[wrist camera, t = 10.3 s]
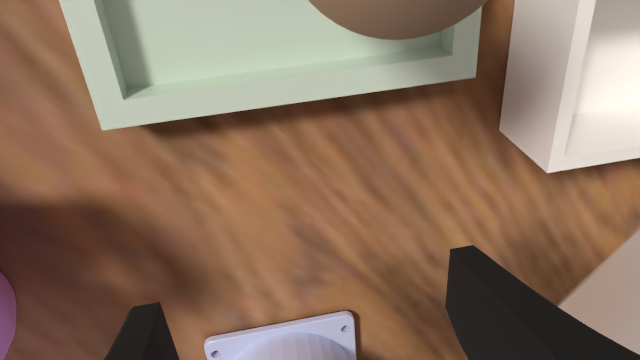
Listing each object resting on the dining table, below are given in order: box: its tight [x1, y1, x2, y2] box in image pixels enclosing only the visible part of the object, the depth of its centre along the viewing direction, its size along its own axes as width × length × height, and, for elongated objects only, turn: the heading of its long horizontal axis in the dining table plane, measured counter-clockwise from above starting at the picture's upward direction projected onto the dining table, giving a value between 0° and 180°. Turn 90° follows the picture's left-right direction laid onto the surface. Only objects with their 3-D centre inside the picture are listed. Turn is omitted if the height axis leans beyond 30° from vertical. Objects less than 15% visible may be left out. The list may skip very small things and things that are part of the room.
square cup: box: [499, 0, 640, 173], centre depth 20 cm, size 7×7×4 cm
